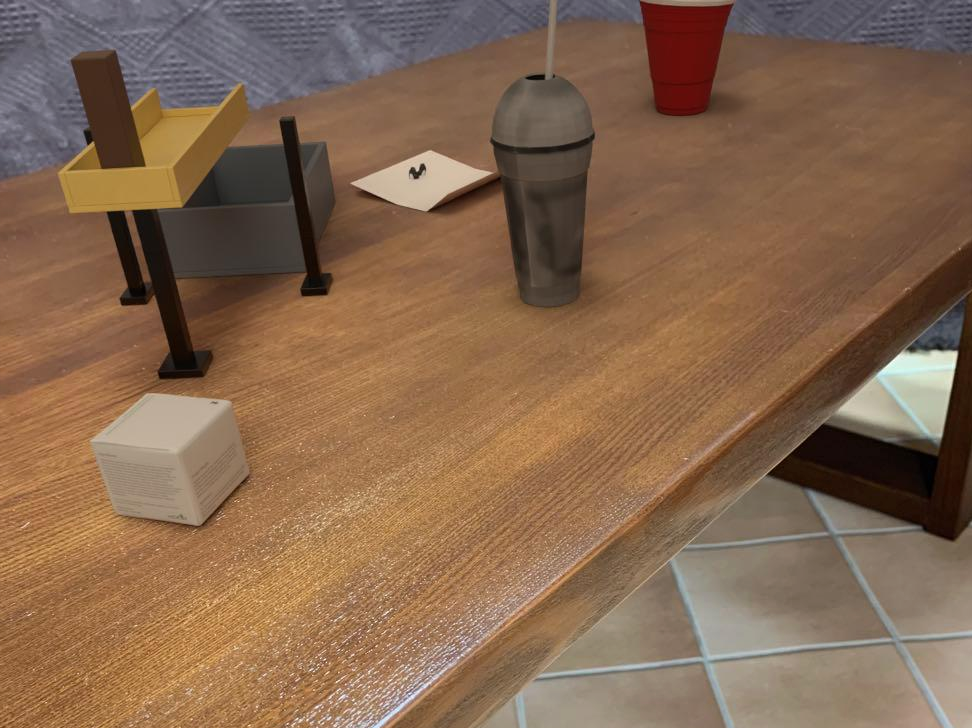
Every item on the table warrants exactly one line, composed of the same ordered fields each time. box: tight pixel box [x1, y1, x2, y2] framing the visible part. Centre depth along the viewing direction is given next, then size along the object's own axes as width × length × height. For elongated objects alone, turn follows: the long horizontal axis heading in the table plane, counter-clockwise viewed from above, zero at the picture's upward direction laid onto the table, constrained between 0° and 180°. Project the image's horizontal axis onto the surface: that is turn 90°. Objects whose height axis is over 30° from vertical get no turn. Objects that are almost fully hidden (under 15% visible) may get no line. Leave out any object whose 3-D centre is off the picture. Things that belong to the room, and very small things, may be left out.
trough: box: [57, 49, 251, 214], centre depth 70 cm, size 20×7×8 cm, turn 1°
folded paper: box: [349, 149, 501, 212], centre depth 102 cm, size 12×12×2 cm
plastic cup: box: [638, 0, 738, 116], centre depth 118 cm, size 11×11×12 cm
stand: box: [82, 115, 333, 380], centre depth 75 cm, size 16×16×13 cm
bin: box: [157, 141, 336, 280], centre depth 92 cm, size 17×11×6 cm, turn 1°
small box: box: [89, 392, 251, 527], centre depth 59 cm, size 6×6×5 cm
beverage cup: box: [489, 0, 596, 308], centre depth 75 cm, size 7×7×20 cm
